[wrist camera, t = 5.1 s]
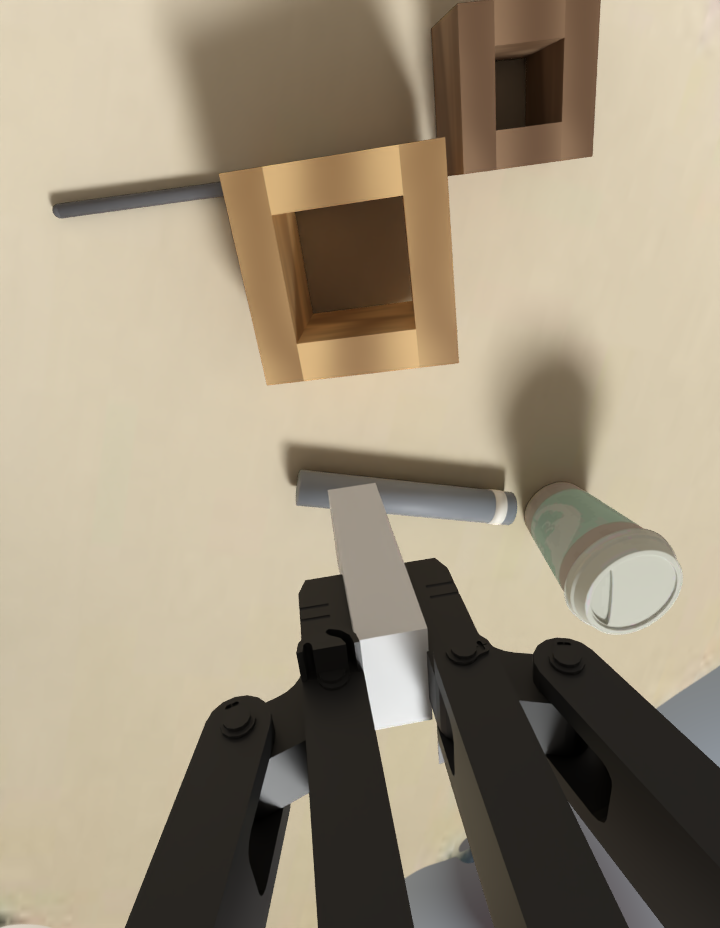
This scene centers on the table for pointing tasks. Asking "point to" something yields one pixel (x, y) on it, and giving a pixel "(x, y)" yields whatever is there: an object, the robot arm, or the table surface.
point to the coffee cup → (603, 560)
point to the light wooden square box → (284, 278)
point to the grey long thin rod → (137, 200)
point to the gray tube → (414, 498)
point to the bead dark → (547, 81)
